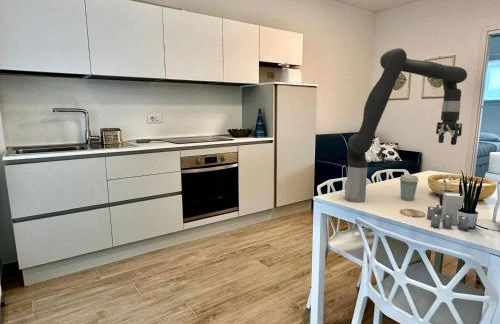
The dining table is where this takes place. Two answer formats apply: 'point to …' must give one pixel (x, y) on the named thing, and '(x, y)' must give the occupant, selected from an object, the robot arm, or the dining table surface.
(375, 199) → the dining table surface
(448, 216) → the spacer field
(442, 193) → the mate gourd
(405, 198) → the coffee cup
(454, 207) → the skincare box
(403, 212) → the coaster
